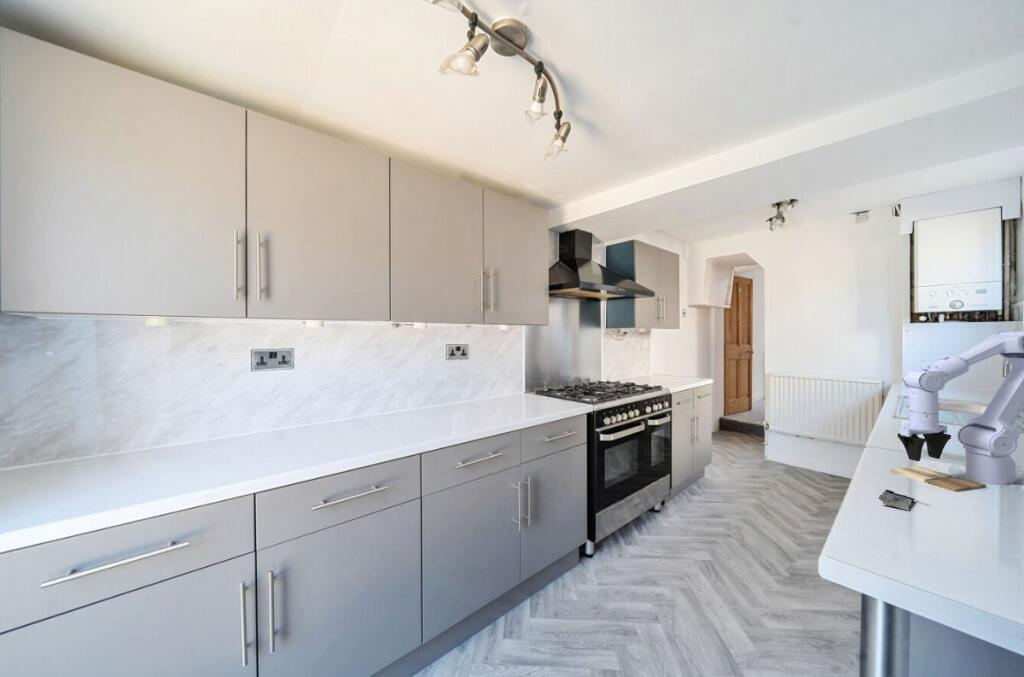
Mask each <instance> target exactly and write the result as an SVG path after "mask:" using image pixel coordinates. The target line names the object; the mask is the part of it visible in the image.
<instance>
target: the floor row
mask: <svg viewBox="0 0 1024 677" xmlns="http://www.w3.org/2000/svg"><path fill="white" fill-rule="evenodd" d="M927 484H928V485H932V486H935V487H938V488H941V489H945V490H947V491H952V492H956V493H957V492H965V491H969V490H977V489H985V488H987V486H986V485H987V484H986V483H982V482H978V481H974V480H971V479H967V478H964V477H963V478H961V477H959V476H955V477H954V476H953V478H946V479H938V480H931V481H928V482H927Z"/></svg>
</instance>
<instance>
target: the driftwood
mask: <svg viewBox="0 0 1024 677" xmlns="http://www.w3.org/2000/svg"><path fill="white" fill-rule="evenodd" d="M894 492H895V491H894V490H891V489H885V491H884V492H882V493H881V494H880V495H879V496H878V498H877V499H878V500H879V501H882V504H883V505H882V506H883V507H884V506H885V507H886V506H890V507H894V508H898V509H902V510H904V511H909V510H910V508H909V507H910V506H911V504H912V503H915V498H913V497H910V496H908V495H903V494H898V493H894ZM893 493H894V494H893Z"/></svg>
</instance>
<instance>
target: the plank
mask: <svg viewBox="0 0 1024 677" xmlns="http://www.w3.org/2000/svg"><path fill="white" fill-rule="evenodd" d="M890 473H893V474H896V475H899V476H903V477H904V478H905V477H906V478H909V479H912V480H917V481H919V482H922V483H928V481H931V480H938V479H946V478H953V477H954V476H953V475H951V474H949V473H945V472H944V473H943V472H940V471H938V470H937V471H936V470H933V469H930V468H926V467H921V466H918V465H917V466H910V467H902V468H895V469H890Z"/></svg>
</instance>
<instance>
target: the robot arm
mask: <svg viewBox="0 0 1024 677" xmlns="http://www.w3.org/2000/svg"><path fill="white" fill-rule="evenodd" d="M996 355H999V356H1001V357H1002V358H1003V359H1004V360H1005V361H1006V362H1007V363H1009V364H1010V365H1011V369H1010V371H1009V372H1008V373H1007V375H1006V377H1005V378H1004V380H1003V381H1002V384H1000V387H998V389H997V391H996V393H995V395H994V396H993V397H992V399H991V401H990V402H989V403H988V405H987V407H986V408H985V410H984V412H983V413H982V415H979V416H976V417H973V418H970V419H968V421H967V423H966V424H964V425H963V426H961V427H960V428H959V429H958V430H957V432H956V439H957V441H958V442H959V443H960V444H962V448H963V449H965V451H964V452H965V454H964V455H965V457H964V458H965V477H966V479H968V480H970V481H974V482H977V483H981V484H989V485H995V486H1006V485H1009V484H1011V483H1016V462H1015V460H1014V459H1013V458H1012V456H1011V455H1012V454H1013V453H1014V452H1015V451H1016V450H1017V447H1018V439H1019V437H1020V436H1021V433H1019V431H1018V430H1017V429H1016V428H1015V427H1014V426H1013V425H1014V423H1015V422H1016V420H1017V419H1018V418H1019V416H1020V414H1021V413H1022V411H1023V409H1024V331H1023V330H1022V331H1021V330H1017V331H1015V330H1014V331H1013V330H999V331H997V332H995V333H994V334H991V335H988V336H986V339H985V340H983V341H982V342H979V343H978V344H976V345H974V346H972V347H971V348H969V349H967V350H966V351H963V352H962V353H960V354H958V355H956V356H955V355H941V356H940V357H938V360H936V361H934V362H932V363H929V364H925V365H923V366H921V367H922V368H920V369H912V370H910V371H908V372H907V373H905V375H904V378H902V379H901V380H902V383H903V385H904V387H906V389H907V390H906V391H907V393H908V418H909V420H908V423H906V424H905V423H904V427H902V428H899V429H900V433H899V432H898V433H897V438H898V439H899V440H900V442H901V443H902V445H903V447H904V449H905V451H906V454H907V457H908V460H911V461H915V462H920V461H921V459H922V450H923V447H924V445H925V443H926V450H927V455H928V457H929V458H933V459H938V460H940V459H941V457H942V455H943V452H944V449H945V446H946V445H947V443H948V442H949V441H950V440H951V439H952V435H951V434H949V433H948V426H947V425H943V424H940V419H939V414H940V413H939V411H940V410H939V391H941V390H943V389H944V388H945V387H946V384H947V383H948V382H950V381H952V380H953V379H955V378H958V377H960V376H962V375H964V374H966V373H968V372H969V369H970V366H972V365H975V364H977V363H979V362H981V361H984V360H986V359H989V358H991V357H994V356H996ZM919 435H922V436H923V437H920V436H919Z"/></svg>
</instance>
